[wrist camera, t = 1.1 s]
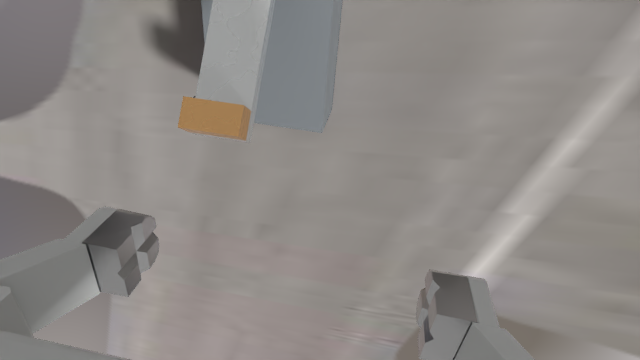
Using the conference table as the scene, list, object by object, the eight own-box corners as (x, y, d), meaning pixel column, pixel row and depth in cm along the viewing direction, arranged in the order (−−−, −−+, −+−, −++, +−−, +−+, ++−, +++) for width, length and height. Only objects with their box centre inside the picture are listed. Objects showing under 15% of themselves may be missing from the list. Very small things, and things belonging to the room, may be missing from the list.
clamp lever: (291, -94, 27) (284, -125, 24) (250, 143, 26) (238, 136, 24) (237, -98, 28) (224, -129, 25) (195, 134, 27) (177, 127, 24)
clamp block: (355, -129, 30) (339, -152, 23) (331, 109, 41) (315, 147, 33) (222, -138, 32) (166, -163, 24) (233, 95, 42) (196, 128, 35)
